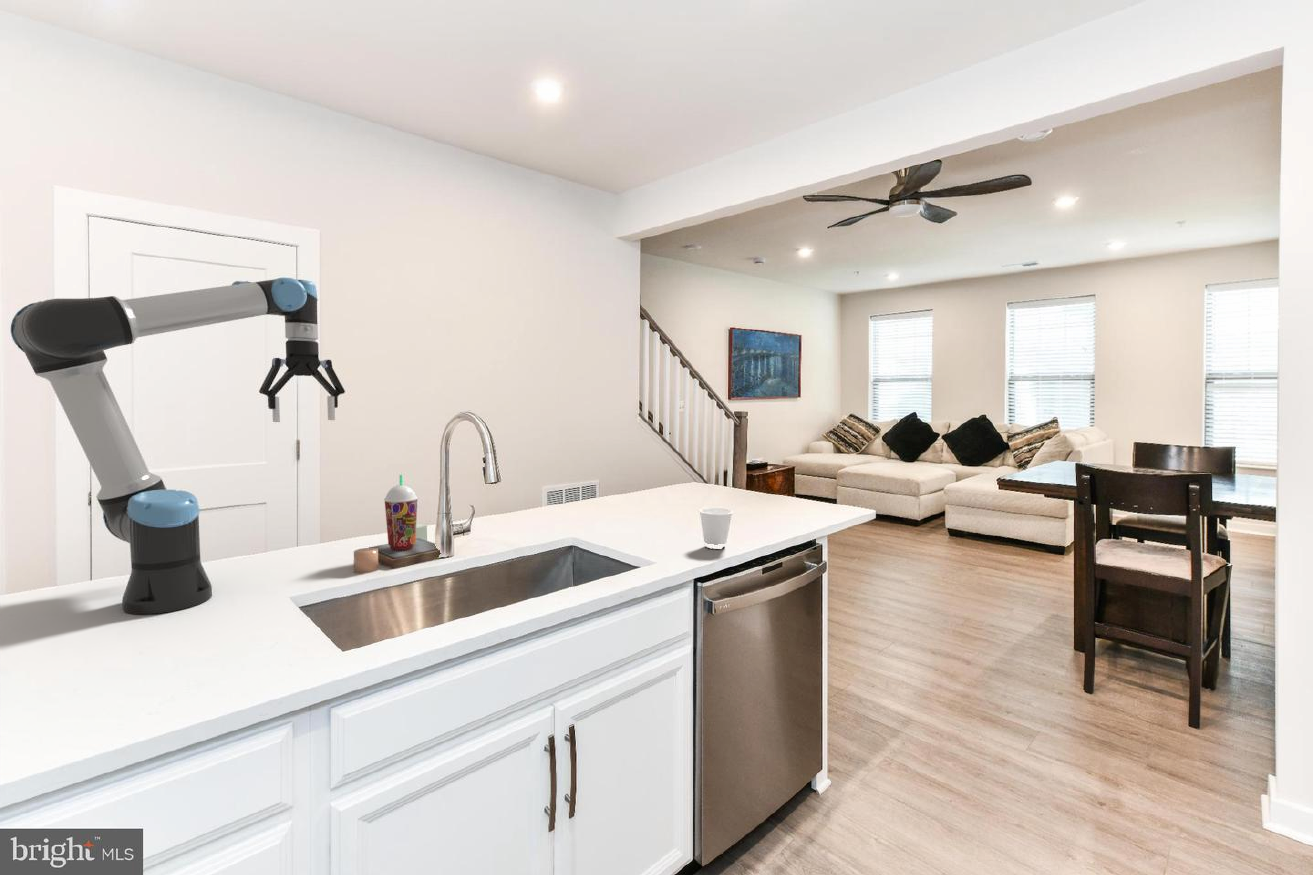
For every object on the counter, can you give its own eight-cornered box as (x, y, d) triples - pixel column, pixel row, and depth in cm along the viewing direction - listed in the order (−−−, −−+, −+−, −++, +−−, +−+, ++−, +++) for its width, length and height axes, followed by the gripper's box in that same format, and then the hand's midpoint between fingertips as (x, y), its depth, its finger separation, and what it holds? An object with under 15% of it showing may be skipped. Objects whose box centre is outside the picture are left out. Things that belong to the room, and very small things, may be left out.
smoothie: (410, 552, 166) (409, 477, 165) (379, 551, 167) (378, 476, 165) (423, 544, 175) (422, 473, 173) (394, 543, 175) (392, 472, 173)
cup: (692, 544, 189) (693, 508, 188) (720, 541, 193) (721, 506, 192) (708, 553, 180) (709, 515, 179) (738, 550, 184) (739, 512, 184)
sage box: (414, 545, 184) (413, 528, 184) (401, 543, 186) (401, 526, 186) (427, 541, 188) (426, 525, 188) (414, 539, 191) (414, 523, 190)
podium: (393, 568, 161) (393, 558, 161) (364, 556, 171) (364, 547, 171) (449, 556, 173) (449, 547, 173) (419, 545, 183) (419, 536, 183)
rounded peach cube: (360, 574, 156) (359, 555, 155) (350, 570, 159) (349, 550, 159) (382, 569, 160) (382, 550, 160) (372, 565, 164) (371, 546, 163)
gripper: (253, 336, 154) (256, 423, 156) (356, 342, 173) (358, 420, 175) (242, 337, 159) (246, 421, 161) (344, 343, 178) (346, 418, 179)
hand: (304, 421), depth 168 cm, fingers open, 13 cm apart
